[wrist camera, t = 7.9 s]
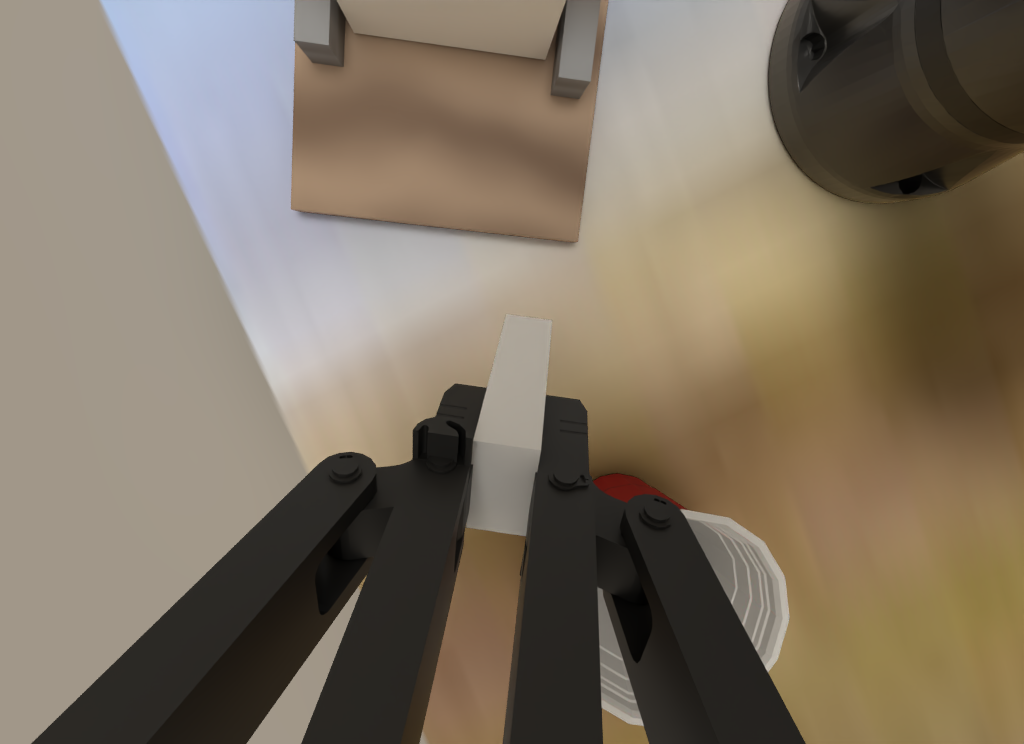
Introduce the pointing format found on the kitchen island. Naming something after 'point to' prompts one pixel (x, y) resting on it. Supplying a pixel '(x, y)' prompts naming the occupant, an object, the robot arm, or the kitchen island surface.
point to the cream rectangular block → (461, 23)
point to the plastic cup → (741, 574)
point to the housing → (444, 126)
